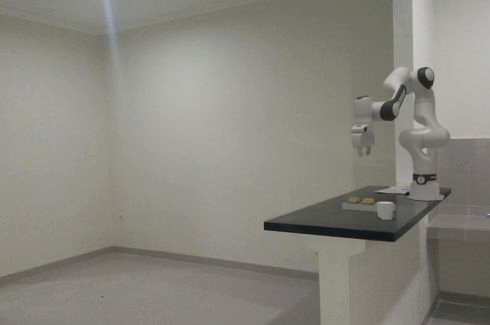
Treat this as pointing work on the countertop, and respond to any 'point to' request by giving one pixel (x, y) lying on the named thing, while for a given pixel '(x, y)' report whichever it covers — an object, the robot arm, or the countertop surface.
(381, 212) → the white cup
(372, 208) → the rail
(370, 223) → the countertop surface
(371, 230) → the countertop surface
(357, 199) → the nut seated
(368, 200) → the tan yellow block
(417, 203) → the countertop surface
